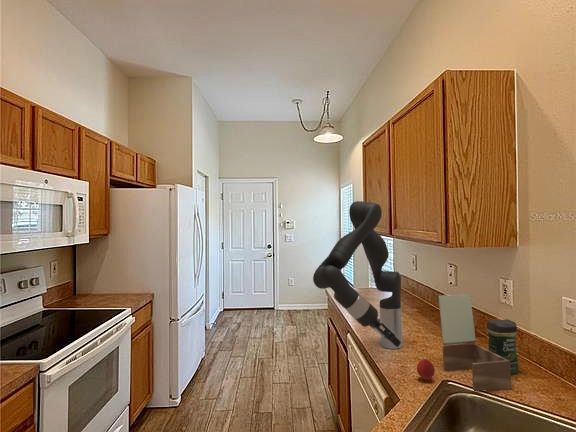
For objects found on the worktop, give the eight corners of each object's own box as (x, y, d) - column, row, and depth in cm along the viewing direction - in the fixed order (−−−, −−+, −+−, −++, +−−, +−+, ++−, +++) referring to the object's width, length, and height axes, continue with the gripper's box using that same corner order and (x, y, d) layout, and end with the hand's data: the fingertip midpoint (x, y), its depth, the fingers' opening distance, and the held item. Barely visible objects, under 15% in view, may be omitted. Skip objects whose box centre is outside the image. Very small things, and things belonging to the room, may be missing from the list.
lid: (444, 345, 133) (443, 344, 134) (475, 342, 135) (474, 342, 136) (439, 296, 136) (438, 295, 137) (470, 294, 138) (468, 294, 138)
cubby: (443, 370, 134) (442, 345, 134) (475, 367, 136) (474, 343, 136) (475, 392, 116) (473, 364, 116) (511, 388, 118) (510, 361, 118)
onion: (430, 376, 129) (429, 353, 129) (438, 383, 123) (437, 359, 124) (414, 377, 129) (413, 354, 129) (421, 384, 123) (420, 360, 123)
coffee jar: (498, 376, 128) (496, 323, 128) (483, 367, 135) (482, 317, 136) (523, 374, 129) (521, 322, 129) (508, 365, 136) (506, 316, 137)
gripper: (375, 305, 117) (410, 338, 118) (360, 297, 131) (391, 326, 132) (360, 323, 116) (395, 356, 117) (347, 312, 130) (378, 342, 132)
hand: (393, 340), depth 125 cm, fingers open, 8 cm apart
